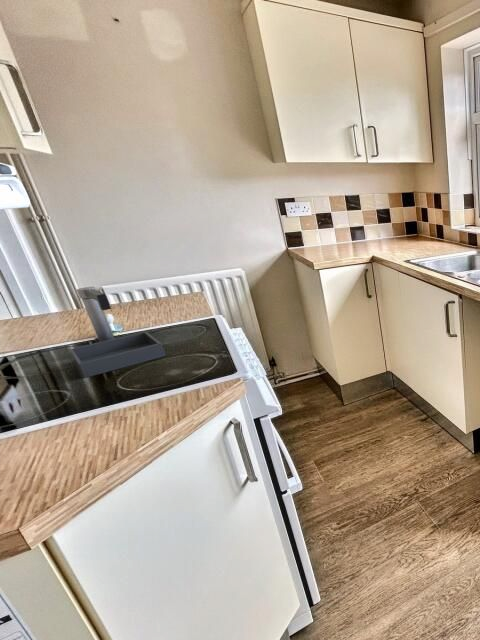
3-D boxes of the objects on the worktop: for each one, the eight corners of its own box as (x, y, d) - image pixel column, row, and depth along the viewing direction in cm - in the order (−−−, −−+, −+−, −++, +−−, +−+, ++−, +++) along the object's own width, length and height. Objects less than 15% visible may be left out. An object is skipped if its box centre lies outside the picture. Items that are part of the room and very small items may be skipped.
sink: (85, 378, 96) (78, 364, 95) (74, 362, 104) (68, 349, 103) (166, 355, 107) (161, 343, 105) (150, 343, 115) (146, 331, 114)
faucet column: (98, 353, 109) (76, 302, 104) (94, 348, 112) (72, 298, 107) (126, 347, 113) (106, 296, 108) (121, 342, 116) (101, 293, 111)
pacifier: (93, 341, 117) (121, 336, 120) (83, 320, 115) (112, 315, 118) (98, 334, 123) (125, 329, 126) (89, 314, 120) (116, 309, 123)
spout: (98, 311, 101) (91, 295, 99) (80, 303, 107) (74, 289, 106) (116, 307, 103) (110, 292, 102) (98, 300, 110) (92, 286, 108)
